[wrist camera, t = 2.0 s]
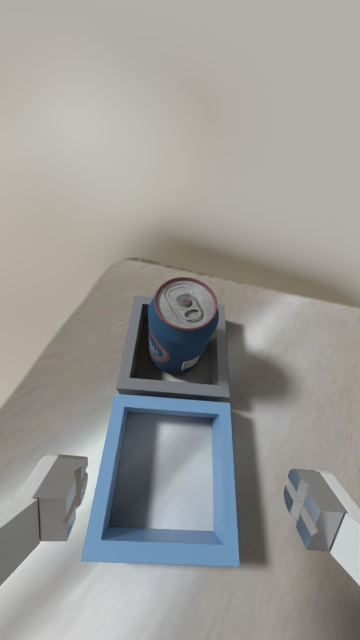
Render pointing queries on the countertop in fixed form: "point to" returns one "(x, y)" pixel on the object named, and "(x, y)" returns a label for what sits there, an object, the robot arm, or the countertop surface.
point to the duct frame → (210, 404)
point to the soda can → (181, 324)
